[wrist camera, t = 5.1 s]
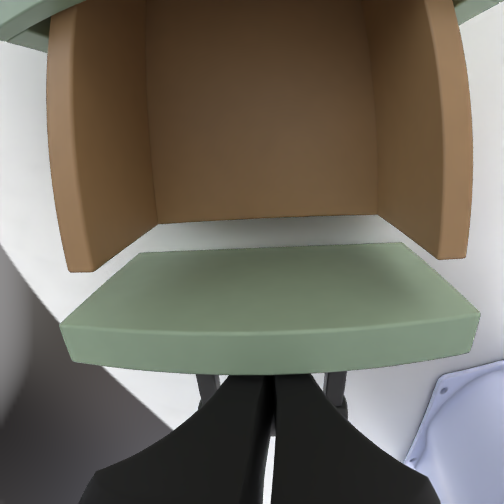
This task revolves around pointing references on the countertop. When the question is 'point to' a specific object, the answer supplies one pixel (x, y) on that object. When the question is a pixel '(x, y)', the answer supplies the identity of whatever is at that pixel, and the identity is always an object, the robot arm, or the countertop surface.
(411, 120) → the drawer
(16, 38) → the cabinet
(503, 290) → the countertop surface
